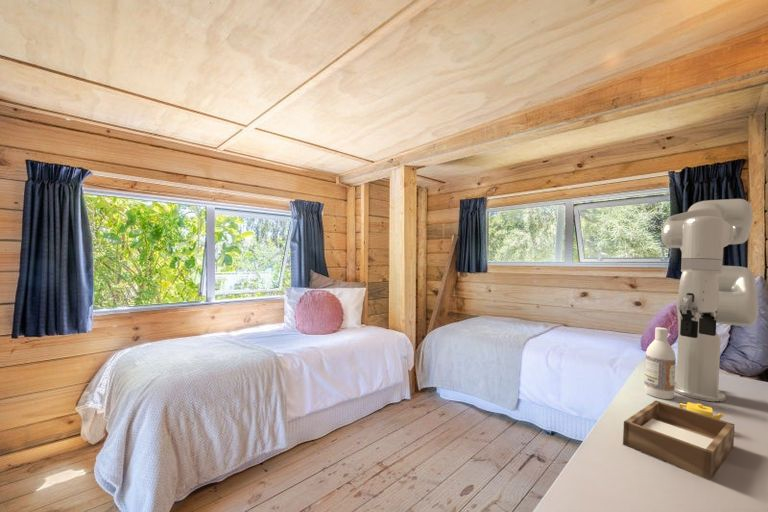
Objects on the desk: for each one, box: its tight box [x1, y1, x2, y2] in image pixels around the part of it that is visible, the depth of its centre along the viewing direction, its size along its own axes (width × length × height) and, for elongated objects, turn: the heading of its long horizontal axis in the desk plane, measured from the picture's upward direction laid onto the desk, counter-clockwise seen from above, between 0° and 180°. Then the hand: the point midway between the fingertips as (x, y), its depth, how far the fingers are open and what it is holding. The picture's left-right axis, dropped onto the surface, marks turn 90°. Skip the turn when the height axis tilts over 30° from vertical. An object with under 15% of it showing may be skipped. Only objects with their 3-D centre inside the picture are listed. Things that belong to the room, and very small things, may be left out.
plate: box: [643, 419, 714, 449], centre depth 74 cm, size 9×11×2 cm
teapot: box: [678, 401, 724, 420], centre depth 85 cm, size 8×6×5 cm
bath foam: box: [643, 326, 677, 400], centre depth 103 cm, size 7×7×20 cm
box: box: [622, 400, 735, 481], centre depth 75 cm, size 20×14×5 cm
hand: (698, 335), depth 85 cm, fingers open, 9 cm apart
